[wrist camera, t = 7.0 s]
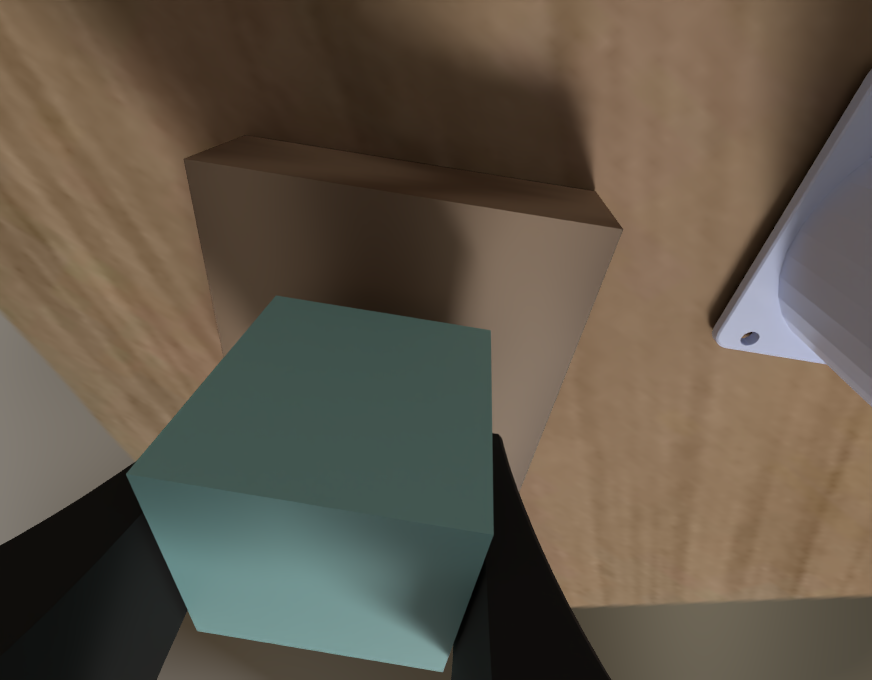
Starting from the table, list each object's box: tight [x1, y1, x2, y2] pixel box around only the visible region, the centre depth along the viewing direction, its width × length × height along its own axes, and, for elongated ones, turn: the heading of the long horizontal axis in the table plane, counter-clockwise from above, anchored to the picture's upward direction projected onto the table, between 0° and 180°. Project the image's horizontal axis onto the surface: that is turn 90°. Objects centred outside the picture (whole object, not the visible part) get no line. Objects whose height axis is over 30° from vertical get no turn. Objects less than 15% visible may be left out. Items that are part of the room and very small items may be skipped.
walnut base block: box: [184, 135, 623, 491], centre depth 14 cm, size 10×10×3 cm
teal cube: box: [126, 296, 494, 672], centre depth 9 cm, size 5×5×5 cm
